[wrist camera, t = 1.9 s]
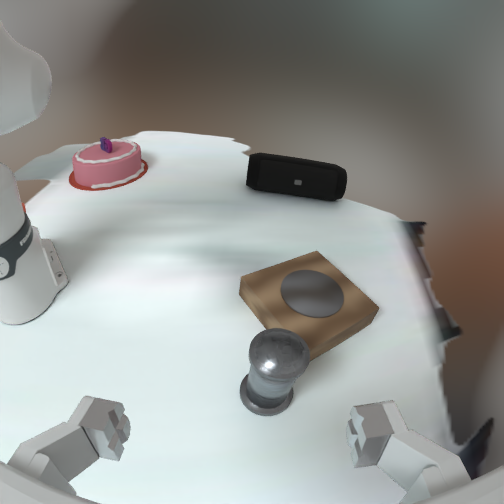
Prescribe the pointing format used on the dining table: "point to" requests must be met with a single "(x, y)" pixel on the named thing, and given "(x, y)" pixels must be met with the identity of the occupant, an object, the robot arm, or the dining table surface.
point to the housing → (273, 370)
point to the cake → (107, 165)
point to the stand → (308, 301)
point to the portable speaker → (296, 176)
